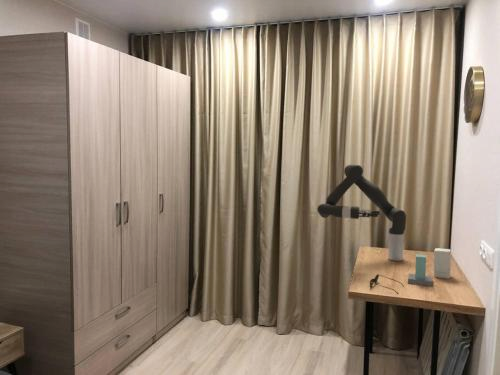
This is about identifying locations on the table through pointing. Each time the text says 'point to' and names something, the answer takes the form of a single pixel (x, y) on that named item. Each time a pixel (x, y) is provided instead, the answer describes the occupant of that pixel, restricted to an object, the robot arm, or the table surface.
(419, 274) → the teal block
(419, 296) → the table surface
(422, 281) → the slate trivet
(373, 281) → the sunglasses
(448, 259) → the skincare box
